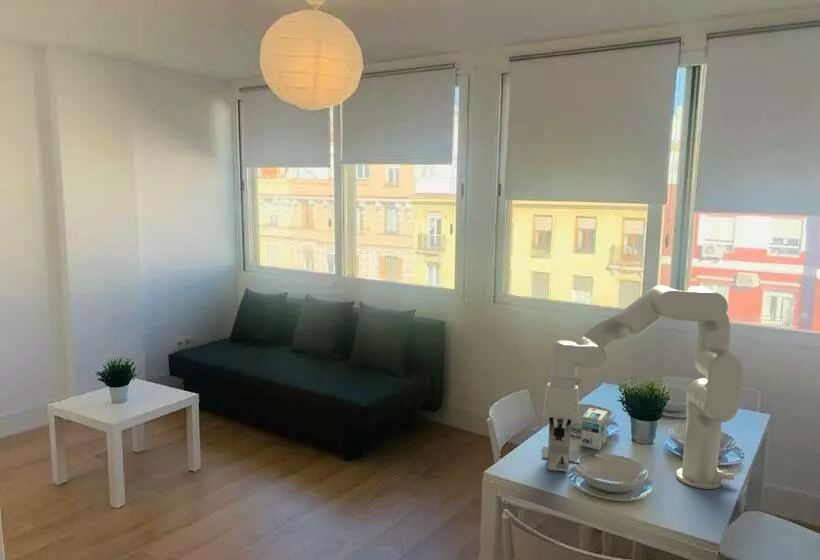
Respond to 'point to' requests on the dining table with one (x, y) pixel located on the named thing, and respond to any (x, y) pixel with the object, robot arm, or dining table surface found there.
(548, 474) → the dining table surface
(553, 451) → the coffee box
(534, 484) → the dining table surface
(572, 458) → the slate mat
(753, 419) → the dining table surface
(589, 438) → the light bulb box
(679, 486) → the dining table surface
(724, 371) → the robot arm
